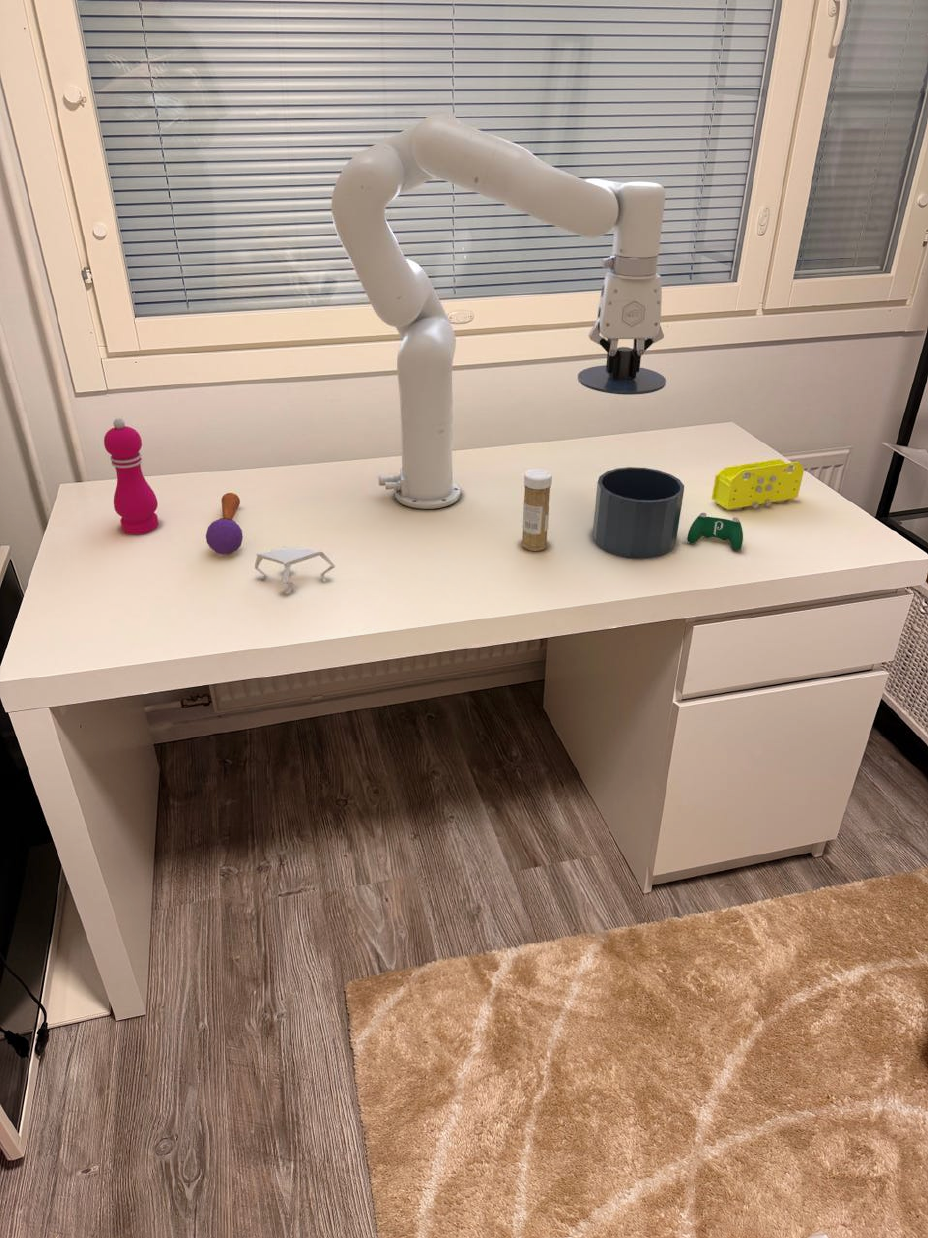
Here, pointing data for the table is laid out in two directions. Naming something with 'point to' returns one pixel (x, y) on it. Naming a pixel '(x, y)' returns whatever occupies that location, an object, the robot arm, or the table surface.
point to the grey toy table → (290, 561)
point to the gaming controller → (717, 530)
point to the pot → (637, 512)
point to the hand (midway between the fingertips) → (621, 375)
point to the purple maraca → (225, 528)
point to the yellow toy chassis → (757, 484)
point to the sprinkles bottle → (536, 509)
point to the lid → (622, 377)
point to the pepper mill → (130, 480)
